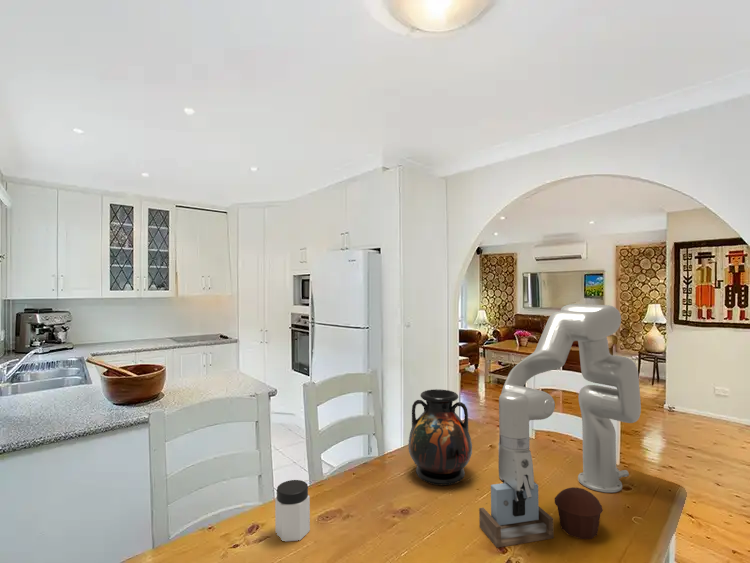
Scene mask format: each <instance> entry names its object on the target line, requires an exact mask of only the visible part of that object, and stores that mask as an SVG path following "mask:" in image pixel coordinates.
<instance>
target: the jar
mask: <svg viewBox="0 0 750 563" xmlns="http://www.w3.org/2000/svg"><path fill="white" fill-rule="evenodd" d="M308 487H309V485H308V483H307V482H306V481H303V480H301V479H293V480H292V479H291V480H287V481H284V482H281V483H280V484H279V485H278V486H277V487H276V497H275V498H274V500H275V501H274V502H275V506H274V507H275V508H274V510H275V516H274V517H275V520H274V521H275V523H274V524H275V526H274V527H275V534H276V533H277V534H276V536H277V537H278V536H279V537H280V538H281V539H280V538H279V537H278V538H279V539H280V540H282V541H285V542H298V540H299V541H301V540H302V539H303V538H304V537H305V536H306V535H307V534H308V533H309V532H310V531H311V522H310V520H311V518H310V517H311V513H310V512H311V511H310V510H311V507H310V506H311V504H310V499H311V497H310V494H309V489H308ZM282 541H281V542H282Z"/></svg>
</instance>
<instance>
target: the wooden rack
mask: <svg viewBox="0 0 750 563" xmlns="http://www.w3.org/2000/svg"><path fill="white" fill-rule="evenodd" d="M478 511H479V514H478V515H479V518H478V520H479V528H480V530H481V531H483V533H484V535H486V537H487V538H488V539H489V540H490V541H491V542H492V544H493V545H494V546H495V548H503V547H510V546H513V545H514V546H515V545H521V544H527V543H532V542H539V541H544V540H551V539H554V518H553V517H552V516H551V515H550V514H548V512H546V511H545V510H544V509H543V508H542V507H540V506H539V520H533V521H526V522H520V523H513V524H506V525H499V524H498V523H497V522H496V521H495V520H494V519H493V517H492V516H491V513H489V512H488V511H487V509H486V508H485V507H479V508H478Z"/></svg>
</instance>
